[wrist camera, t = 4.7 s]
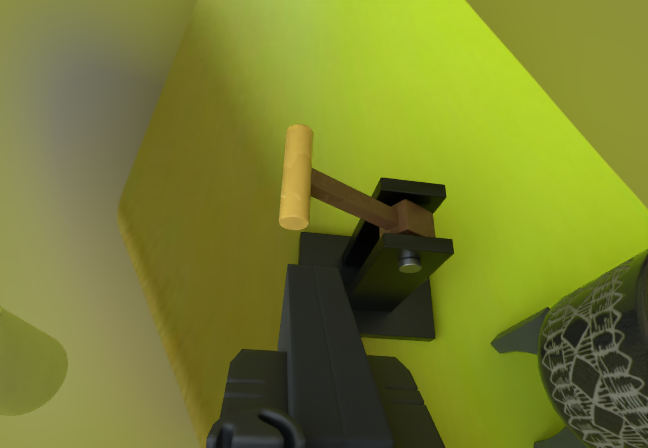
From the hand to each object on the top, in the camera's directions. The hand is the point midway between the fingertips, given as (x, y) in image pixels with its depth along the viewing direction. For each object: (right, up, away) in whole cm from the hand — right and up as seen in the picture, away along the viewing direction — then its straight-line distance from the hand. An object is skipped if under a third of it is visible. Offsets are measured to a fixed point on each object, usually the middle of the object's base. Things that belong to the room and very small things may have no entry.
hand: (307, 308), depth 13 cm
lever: (+2, +3, +14) cm, 14 cm away
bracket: (+4, -3, +26) cm, 26 cm away
